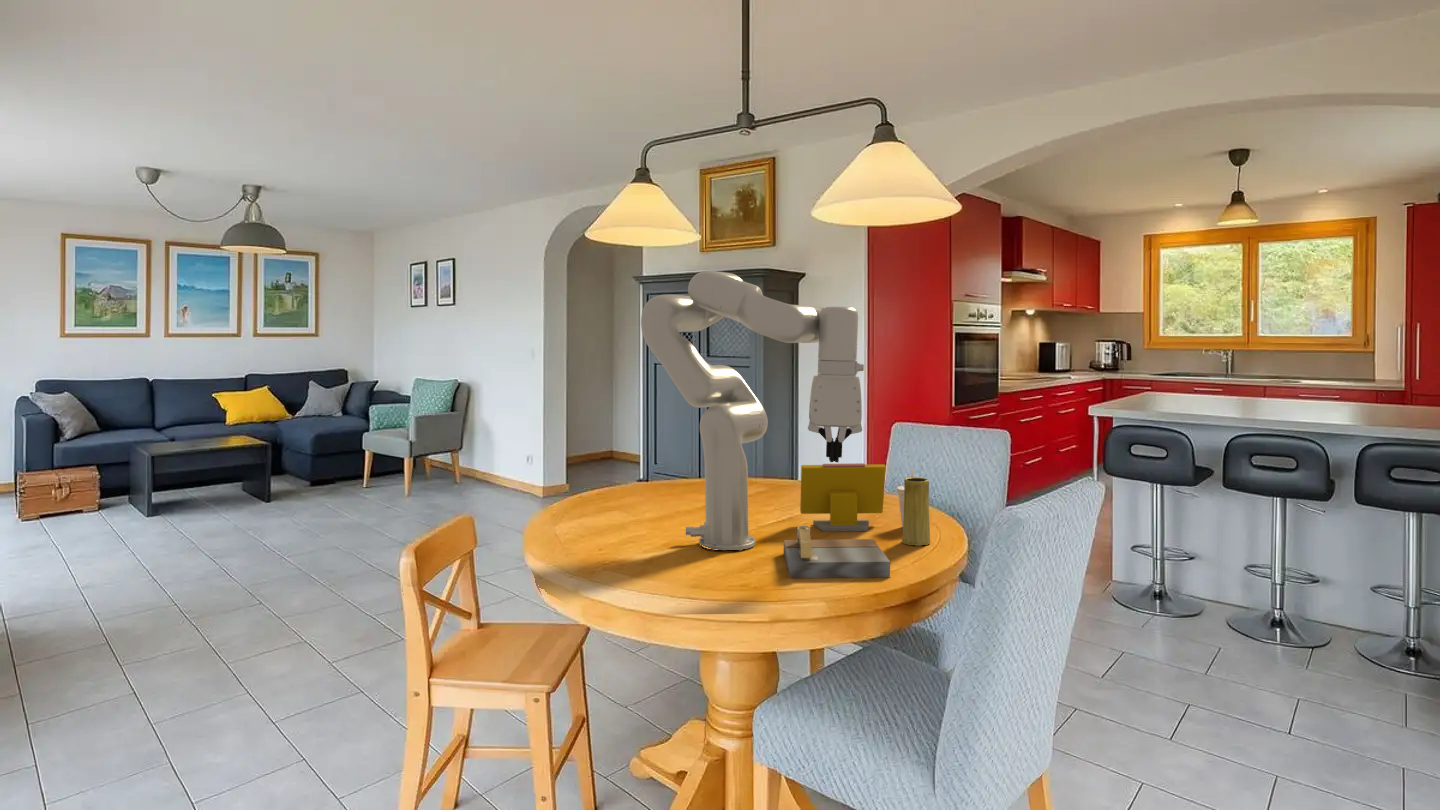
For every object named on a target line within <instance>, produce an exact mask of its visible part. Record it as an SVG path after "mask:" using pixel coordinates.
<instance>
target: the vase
mask: <svg viewBox="0 0 1440 810" xmlns="http://www.w3.org/2000/svg"><path fill="white" fill-rule="evenodd" d="M903 481H904V485H903V486H904V518H903V528H902V538H901V542H902V543H903V544H904V545H906V544H907V546H911V545H915V546H914V547H923V546H922V545H926V546H928V544H929V545H930V544H931V536H930V534H931V533H930V532H931V531H930V499H929V498H930V497H929V496H930V480H929V479H927V478H925V477H913V478H911V477H907V478H904V480H903Z"/></svg>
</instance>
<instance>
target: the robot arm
mask: <svg viewBox="0 0 1440 810" xmlns="http://www.w3.org/2000/svg"><path fill="white" fill-rule="evenodd" d="M687 293H688V295H681V294H660V295H656V296H654V297H652V298H650V299H649V300H648V301H647V302H646V303H645V305H644V306H643V309H642V311H641V316H640V317H641V318H640V327H641V332H642V333H641V334H642V336H643V339H644V341H645V344H646V345H647V346H648V348H649V350H650V351H651V353H652V354H653V355H654V357H656V358H657V359H656V360H658V362H659V363H660V364H661V365H662V367H663V368H664V370H665V371H666V373H667V374H668V376H669V378H670V379H671V381H672V382H673V384H674V385H675V386H676V388H677V389H678V391H679V393H680V394H681V395H682V397H683V399H684V400H685V401H686V403H687V404H689V405H690V406H692V407H694V408H698V409H699V408H701V409H702V408H706V410H705V411H703V414H702V416H701V418H700V421H699V434H700V438H701V439H700V440H701V442H702V449H703V459H704V498H705V499H704V502H705V503H704V504H705V505H704V506H705V507H704V509H705V510H704V511H705V521H704V524H703V525H701V524H700V525H699V526H685V536H690V537H691V538H692V537H693V538H694V537H695V538H696V537H700V538H699V540H698V544H699V543H700V544H701V545H703V546H705V547H708V548H711V549H718V550H739V551H744V550H743V549H745V550H747V549H750V548H752V547H754V546H755V545H756V538H755V537H754V536H752V535H749V474H748V471H749V470H748V469H749V468H748V466H749V465H748V461H747V457H746V454H745V451H744V448H743V444H748V443H751V442H755V441H757V440H760V439H761V438H762V437H763V436H764V435H765V434H766V432H767V429H768V424H769V420H768V416H767V412H766V411H765V408H764V406H763V405H762V403H761V402H760V400H759V399H758V397H756V395H755V393H754V392H753V391H752V389H751V388H750V386H749V385H748V384H747V383H746V381H745V379H744V378H743V376H742V375H741V374H740V373H739V372H738V371H737V370H735V369H734V368H733V367H731V366H729V365H724V364H709V363H708V362H707V361H706V360H705V359H704V358H703V357H702V356H701V354H700V352H699V351H698V350H697V348H696V346H694V345H693V343H692V342H690V340H689V339H687V338H686V337H684V336H683V335H682V334H681V333H685V332H686V333H696V332H700V331H703V330H705V329H707V328H708V327H711V326H712V325H714V324H715V323H717V322H718V321H720V320H722V319H724V318H728V319H730V320H733V321H735V322H737V323H741V324H742V325H743V326H744V327H746V328H747V329H749V330H751V331H752V332H754V333H756V334H759V335H761V336H765V337H766V338H770V339H772V340H775V341H778V342H782V343H786V344H795V343H796V344H811V343H813V344H814V343H818V354H817V375H813V377H812V382H811V388H810V397H809V410H808V411H809V412H808V419H809V420H808V425H807V430H808V431H809V432H812V433H816V434H819V435H820V436H822V438H823V439H824V440H825V441H826V448H825V458H828V460H829V462H830V463H834V462H835V463H839V461H840V458H842V457H843V442H844V441H845V440H846V439H848V438H849V436H850V435H852V434H853V435H855V434H858V433H861V432H863V427H862V417H863V416H862V415H863V413H862V412H863V411H862V410H863V406H862V401H863V400H862V389H861V379H860V377H859V376H857V374H858V372H859V373H860V372H864V370H865V369H864V368H865V365H864V364H863V363H862V364H861V363H859V362H858V361H857V359H858V358H857V357H858V333H859V332H858V331H859V329H858V327H859V314H858V313H859V312H858V311H857V309H855V308H854V307H852V306H851V307H850V306H825V307H820V306H814V305H805V304H803V305H802V304H789V303H786V302H783V301H779V300H777V299H773V298H770V297H768V296H765V295H764V294H763V292H762V289H761V288H760V286H758V285H755V284H752V283H750V282H747V281H744V280H743V279H742V278H741V277H739V276H738V275H737V274H735V273H731V272H725V271H716V270H704V271H703V270H702V271H699V272H698V273H696V274H695V275H694V276H692V278H691V279H690V281H689V283H688V286H687ZM835 427H836V428H837V433H836V437H835V438H834V437H833V434H832V428H835ZM834 439H835V440H834Z"/></svg>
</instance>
